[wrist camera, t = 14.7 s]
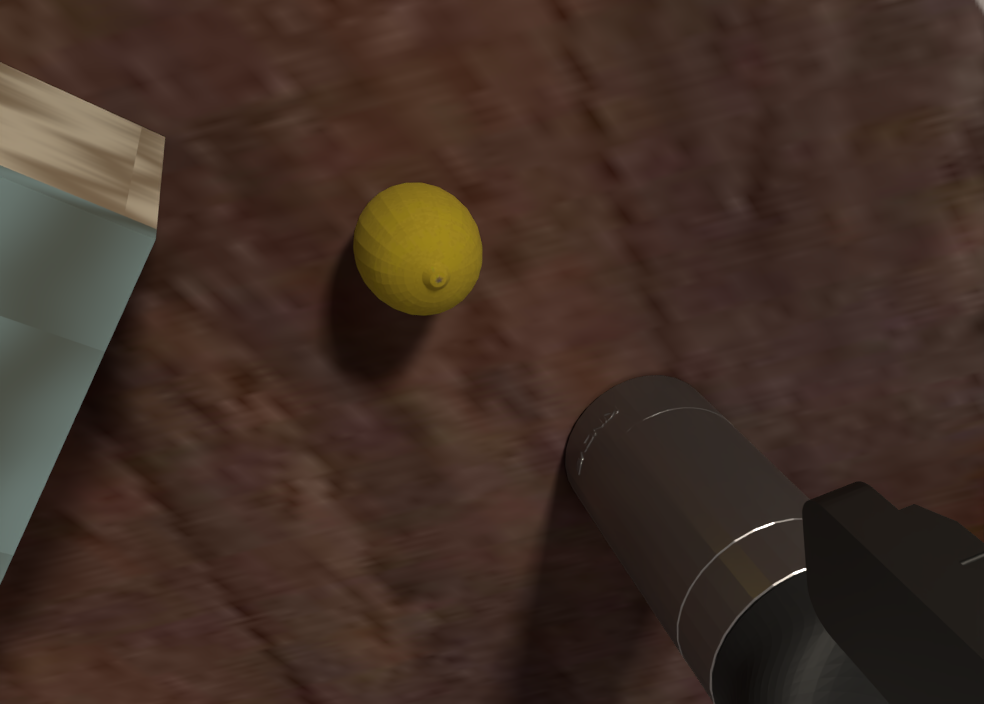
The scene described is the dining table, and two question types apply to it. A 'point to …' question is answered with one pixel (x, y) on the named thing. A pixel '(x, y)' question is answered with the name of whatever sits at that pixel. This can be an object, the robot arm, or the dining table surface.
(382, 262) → the lemon
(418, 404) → the dining table surface
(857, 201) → the dining table surface
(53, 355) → the drop box
